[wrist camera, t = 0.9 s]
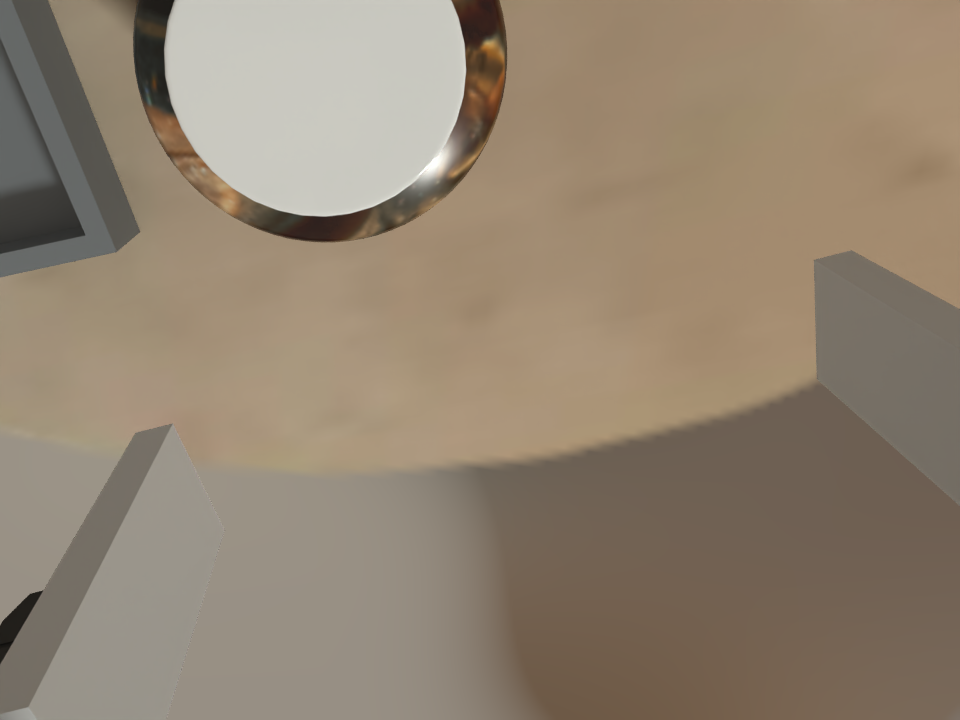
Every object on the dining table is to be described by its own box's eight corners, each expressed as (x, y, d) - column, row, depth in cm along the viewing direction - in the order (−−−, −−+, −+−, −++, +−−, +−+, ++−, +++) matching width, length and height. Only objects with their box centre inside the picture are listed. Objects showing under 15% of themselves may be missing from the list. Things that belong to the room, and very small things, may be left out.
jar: (253, -147, 31) (147, -274, 18) (509, -29, 34) (589, -60, 20) (188, 129, 35) (62, 198, 22) (422, 213, 38) (440, 321, 24)
